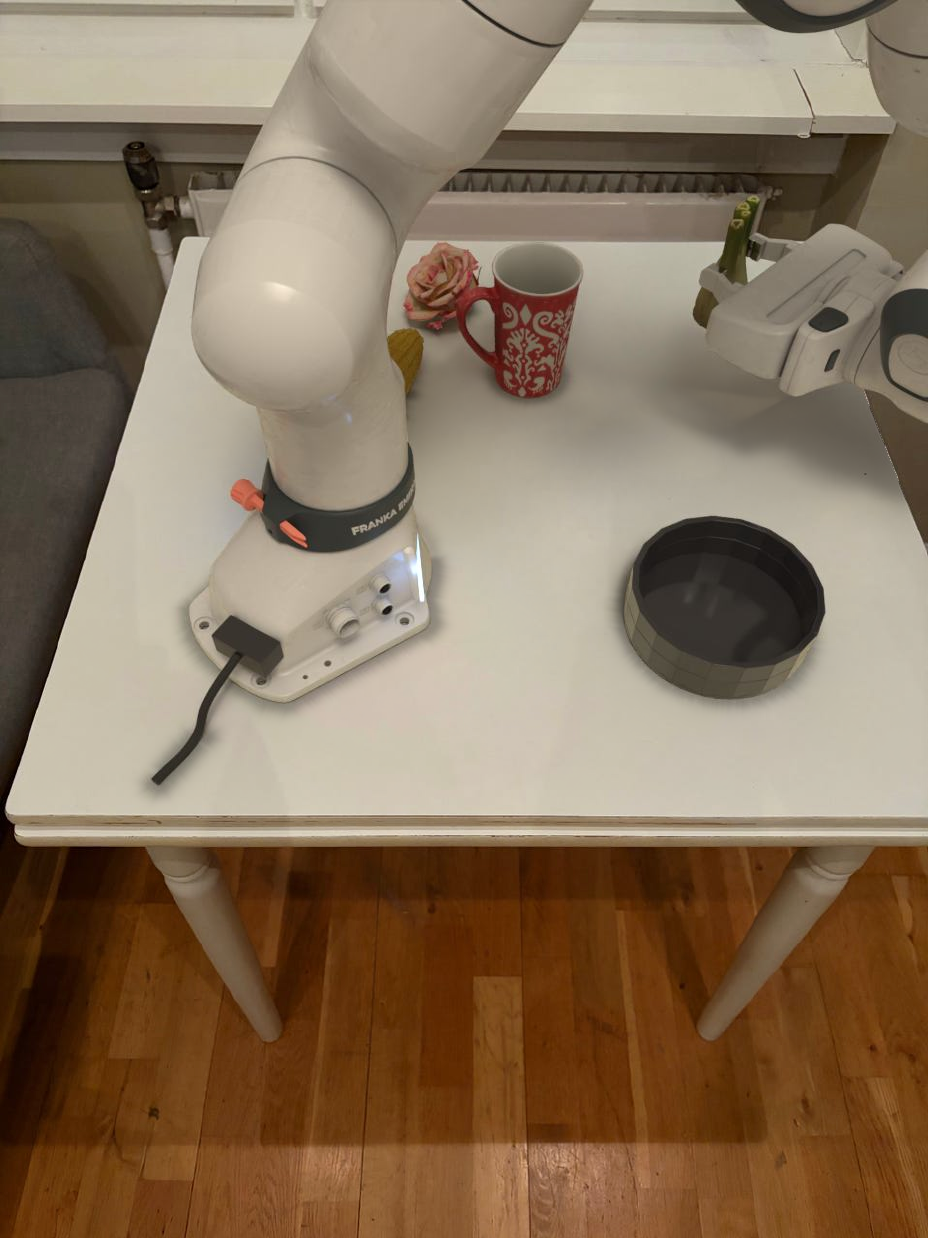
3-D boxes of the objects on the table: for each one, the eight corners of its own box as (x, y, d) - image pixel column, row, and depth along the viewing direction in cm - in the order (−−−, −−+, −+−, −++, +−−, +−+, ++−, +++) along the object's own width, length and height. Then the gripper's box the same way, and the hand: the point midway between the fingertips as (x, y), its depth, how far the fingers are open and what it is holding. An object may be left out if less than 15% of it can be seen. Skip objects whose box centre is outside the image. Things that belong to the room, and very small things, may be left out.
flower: (467, 266, 112) (429, 224, 106) (516, 289, 107) (479, 247, 100) (420, 334, 113) (379, 296, 107) (466, 361, 108) (426, 323, 101)
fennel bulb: (721, 299, 95) (751, 185, 86) (756, 325, 93) (791, 211, 83) (678, 319, 93) (703, 206, 84) (712, 346, 91) (743, 232, 81)
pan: (736, 734, 78) (752, 703, 74) (586, 621, 84) (593, 586, 80) (842, 621, 85) (861, 587, 81) (695, 524, 91) (707, 488, 87)
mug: (556, 344, 107) (568, 235, 96) (579, 397, 102) (595, 288, 91) (447, 359, 105) (446, 250, 94) (465, 414, 100) (466, 305, 89)
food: (374, 489, 93) (369, 445, 89) (320, 478, 94) (313, 434, 89) (433, 355, 105) (432, 310, 100) (385, 346, 106) (382, 301, 101)
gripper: (930, 243, 84) (797, 182, 90) (804, 346, 76) (666, 272, 81) (902, 303, 90) (779, 243, 95) (781, 406, 81) (653, 333, 86)
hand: (726, 257), depth 88 cm, fingers closed on fennel bulb, 5 cm apart
